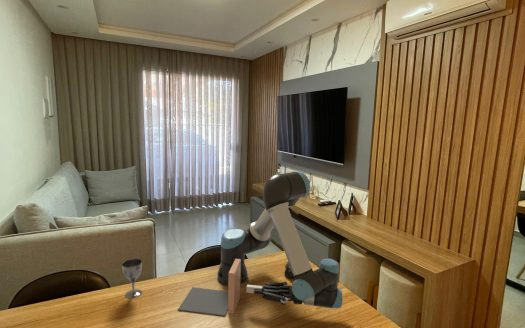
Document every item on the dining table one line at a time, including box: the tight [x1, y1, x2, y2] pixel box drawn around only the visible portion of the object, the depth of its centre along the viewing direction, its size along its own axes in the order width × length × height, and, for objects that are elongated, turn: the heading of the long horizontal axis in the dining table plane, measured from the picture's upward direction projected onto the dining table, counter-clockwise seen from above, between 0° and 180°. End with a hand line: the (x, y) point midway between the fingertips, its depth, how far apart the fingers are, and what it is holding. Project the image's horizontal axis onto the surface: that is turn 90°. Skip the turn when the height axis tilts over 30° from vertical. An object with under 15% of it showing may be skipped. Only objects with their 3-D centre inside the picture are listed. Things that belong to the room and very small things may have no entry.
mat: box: [177, 286, 228, 317], centre depth 128 cm, size 16×20×1 cm
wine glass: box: [121, 258, 143, 300], centre depth 130 cm, size 8×8×15 cm
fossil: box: [284, 261, 294, 278], centre depth 151 cm, size 11×9×10 cm
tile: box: [227, 259, 241, 315], centre depth 125 cm, size 12×3×18 cm, turn 172°
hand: (246, 288), depth 124 cm, fingers closed
